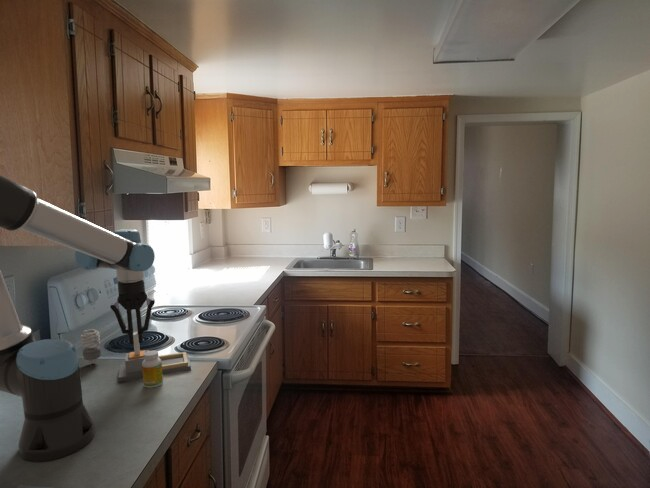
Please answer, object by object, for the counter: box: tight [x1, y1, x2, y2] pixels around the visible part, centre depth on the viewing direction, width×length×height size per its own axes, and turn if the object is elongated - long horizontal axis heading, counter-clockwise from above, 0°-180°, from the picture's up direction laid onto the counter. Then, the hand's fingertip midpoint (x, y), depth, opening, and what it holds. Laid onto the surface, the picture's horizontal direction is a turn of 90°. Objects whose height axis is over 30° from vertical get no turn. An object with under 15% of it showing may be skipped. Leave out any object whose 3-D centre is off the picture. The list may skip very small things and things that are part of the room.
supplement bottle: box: [142, 350, 164, 389], centre depth 134 cm, size 5×5×10 cm
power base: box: [117, 349, 192, 383], centre depth 145 cm, size 21×11×6 cm, turn 111°
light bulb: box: [80, 328, 102, 365], centre depth 150 cm, size 6×6×12 cm
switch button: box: [129, 349, 145, 360], centre depth 143 cm, size 5×5×4 cm
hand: (137, 353), depth 143 cm, fingers closed
